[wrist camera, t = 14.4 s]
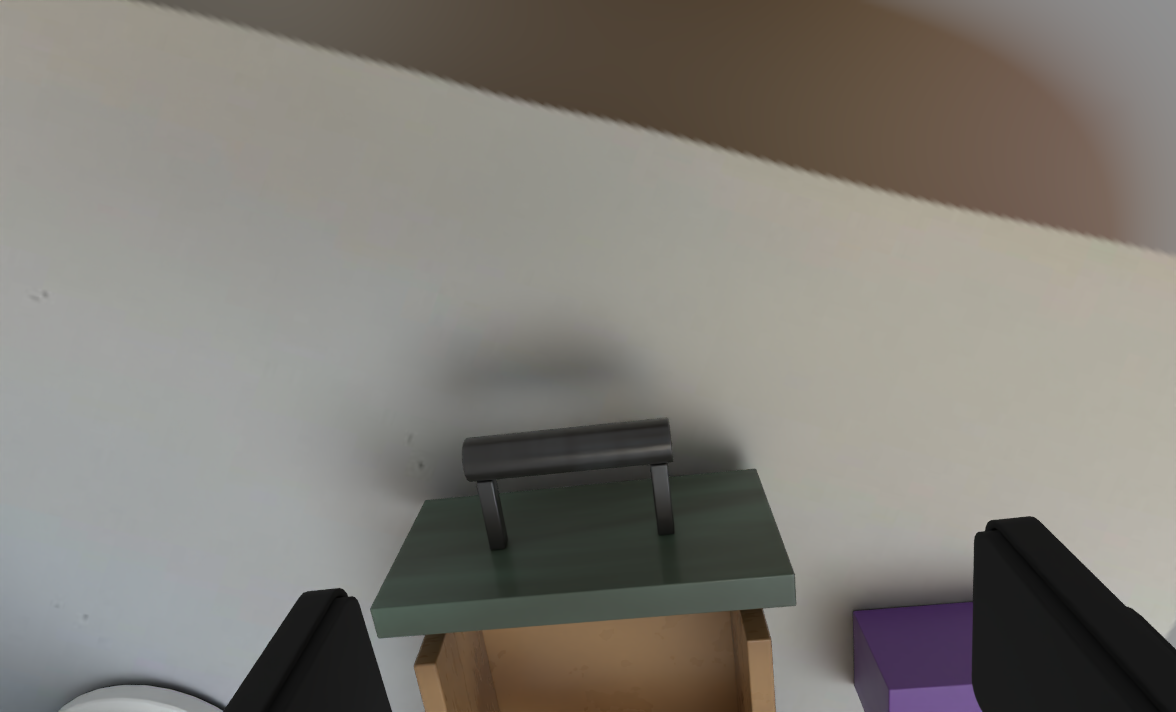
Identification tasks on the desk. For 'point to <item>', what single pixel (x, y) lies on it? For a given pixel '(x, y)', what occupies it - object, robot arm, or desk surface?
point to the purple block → (915, 658)
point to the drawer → (591, 582)
